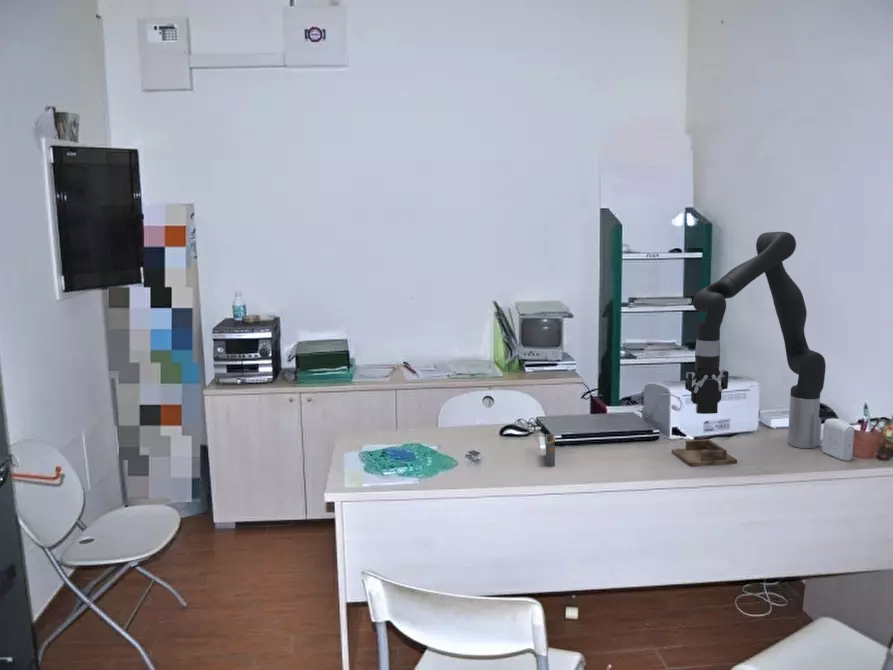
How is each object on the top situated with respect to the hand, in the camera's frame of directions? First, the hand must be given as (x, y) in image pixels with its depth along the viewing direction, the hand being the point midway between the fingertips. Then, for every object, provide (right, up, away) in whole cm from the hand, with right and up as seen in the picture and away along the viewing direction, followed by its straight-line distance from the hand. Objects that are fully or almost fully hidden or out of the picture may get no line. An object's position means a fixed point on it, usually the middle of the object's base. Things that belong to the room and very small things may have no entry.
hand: (705, 402), depth 252 cm
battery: (0, -4, +1) cm, 4 cm away
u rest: (0, -19, +3) cm, 19 cm away
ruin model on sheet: (-50, -20, +4) cm, 54 cm away
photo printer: (+44, -18, +2) cm, 48 cm away
